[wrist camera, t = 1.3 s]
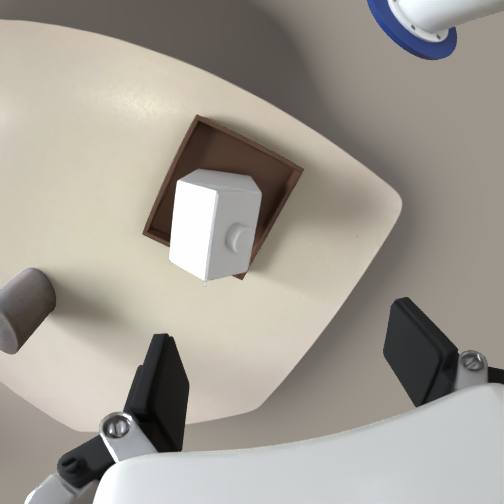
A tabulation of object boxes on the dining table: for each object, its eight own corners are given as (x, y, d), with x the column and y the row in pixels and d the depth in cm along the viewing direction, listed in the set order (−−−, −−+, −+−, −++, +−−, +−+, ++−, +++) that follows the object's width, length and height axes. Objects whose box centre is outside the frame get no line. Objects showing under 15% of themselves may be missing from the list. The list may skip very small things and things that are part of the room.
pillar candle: (63, 312, 43) (24, 362, 29) (31, 313, 43) (-8, 357, 29) (45, 264, 40) (-5, 306, 26) (13, 269, 39) (-33, 307, 25)
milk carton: (191, 219, 38) (158, 280, 21) (198, 167, 36) (166, 186, 18) (242, 226, 39) (250, 293, 22) (251, 175, 37) (269, 201, 19)
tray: (199, 116, 34) (196, 114, 31) (299, 167, 37) (304, 169, 35) (147, 228, 39) (141, 234, 36) (241, 271, 42) (242, 280, 40)
